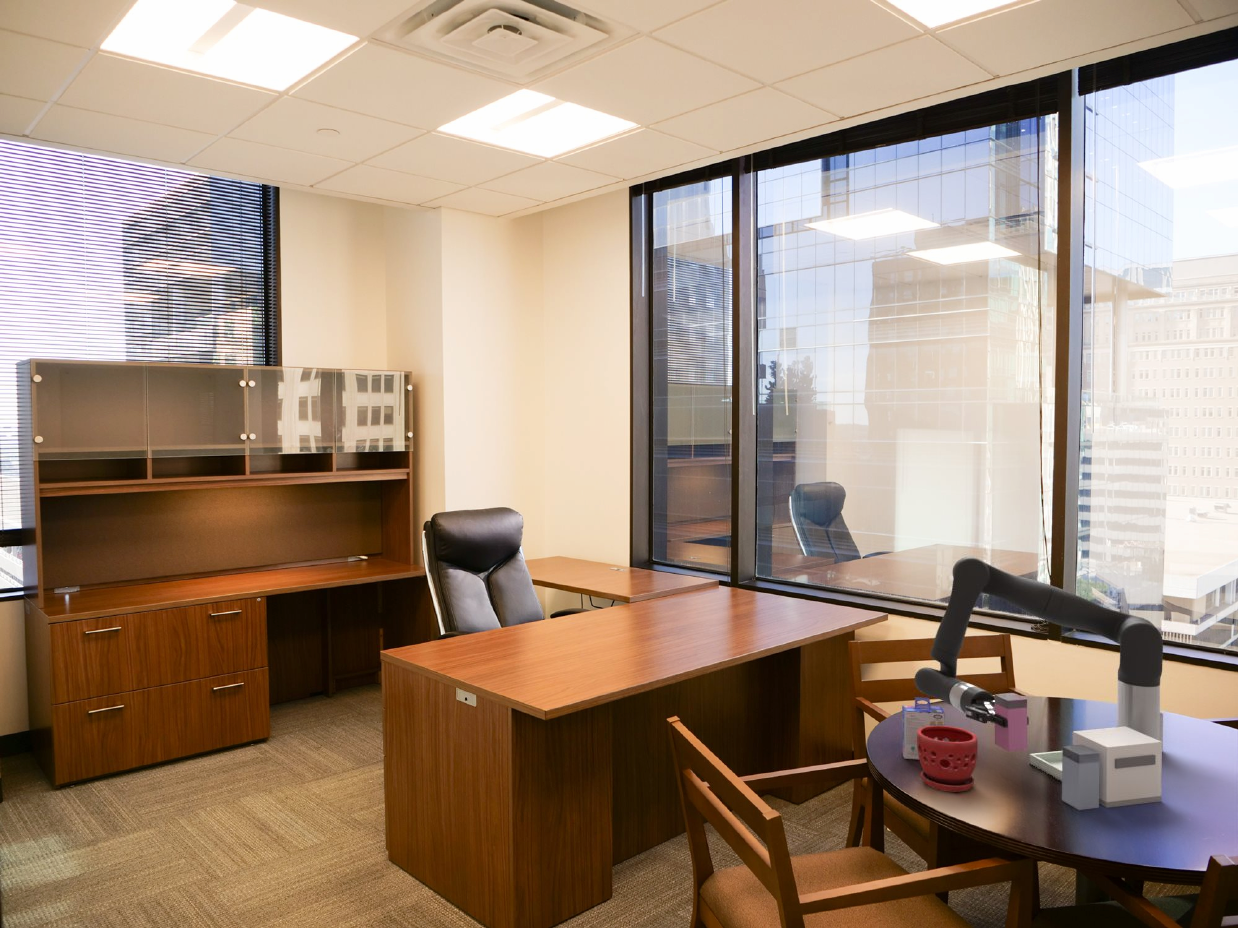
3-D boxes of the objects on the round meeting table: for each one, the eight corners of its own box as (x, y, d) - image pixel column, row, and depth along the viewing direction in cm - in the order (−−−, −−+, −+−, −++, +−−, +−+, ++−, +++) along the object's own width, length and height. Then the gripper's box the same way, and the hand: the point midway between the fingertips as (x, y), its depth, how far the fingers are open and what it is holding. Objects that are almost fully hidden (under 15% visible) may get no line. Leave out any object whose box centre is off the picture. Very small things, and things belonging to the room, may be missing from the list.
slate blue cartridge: (1081, 797, 186) (1081, 744, 185) (1098, 807, 181) (1099, 752, 180) (1062, 799, 185) (1062, 746, 184) (1078, 809, 180) (1079, 754, 179)
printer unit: (1121, 781, 194) (1122, 725, 194) (1162, 801, 183) (1163, 742, 183) (1069, 787, 191) (1070, 729, 191) (1108, 808, 180) (1108, 747, 180)
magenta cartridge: (1013, 741, 202) (1012, 692, 202) (1027, 749, 197) (1027, 698, 197) (995, 743, 201) (994, 694, 201) (1008, 751, 196) (1008, 700, 196)
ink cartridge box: (942, 753, 212) (942, 697, 212) (946, 762, 207) (946, 704, 206) (901, 751, 214) (901, 695, 214) (904, 759, 209) (904, 701, 208)
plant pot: (990, 789, 190) (990, 737, 190) (945, 800, 185) (946, 746, 185) (947, 768, 202) (947, 719, 202) (904, 777, 197) (904, 727, 197)
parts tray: (1069, 759, 207) (1069, 749, 207) (1104, 777, 196) (1104, 767, 196) (1029, 763, 205) (1029, 753, 205) (1063, 782, 194) (1063, 771, 194)
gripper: (946, 688, 212) (990, 709, 195) (996, 683, 215) (1043, 703, 198) (947, 717, 212) (990, 741, 195) (997, 712, 215) (1043, 735, 198)
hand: (1016, 722), depth 197 cm, fingers closed on magenta cartridge, 5 cm apart
